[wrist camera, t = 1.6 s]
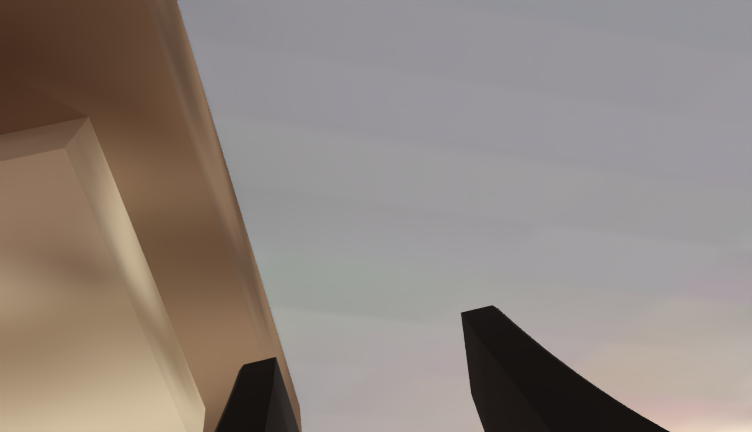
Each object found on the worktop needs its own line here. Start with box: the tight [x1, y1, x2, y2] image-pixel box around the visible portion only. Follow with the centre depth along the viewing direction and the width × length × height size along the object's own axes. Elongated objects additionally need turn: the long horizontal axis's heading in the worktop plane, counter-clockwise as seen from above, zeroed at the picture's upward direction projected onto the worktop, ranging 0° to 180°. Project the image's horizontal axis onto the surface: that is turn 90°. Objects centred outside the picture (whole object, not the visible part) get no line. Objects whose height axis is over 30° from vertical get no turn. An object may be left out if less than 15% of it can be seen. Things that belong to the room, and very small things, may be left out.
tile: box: [0, 117, 205, 432], centre depth 15 cm, size 9×6×2 cm, turn 9°
